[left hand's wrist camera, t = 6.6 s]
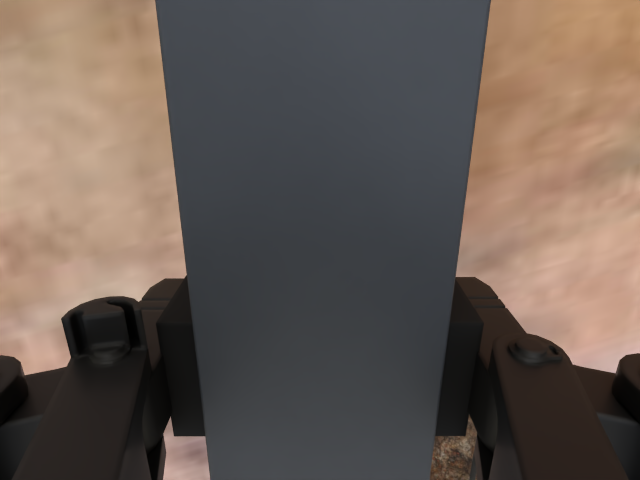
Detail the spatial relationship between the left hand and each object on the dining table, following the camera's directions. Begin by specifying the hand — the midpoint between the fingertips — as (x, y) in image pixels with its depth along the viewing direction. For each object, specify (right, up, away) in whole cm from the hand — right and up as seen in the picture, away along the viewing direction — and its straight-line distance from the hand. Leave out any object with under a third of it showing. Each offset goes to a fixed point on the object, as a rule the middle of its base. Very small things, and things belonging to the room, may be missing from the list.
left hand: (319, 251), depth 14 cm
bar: (0, +33, -12) cm, 35 cm away
